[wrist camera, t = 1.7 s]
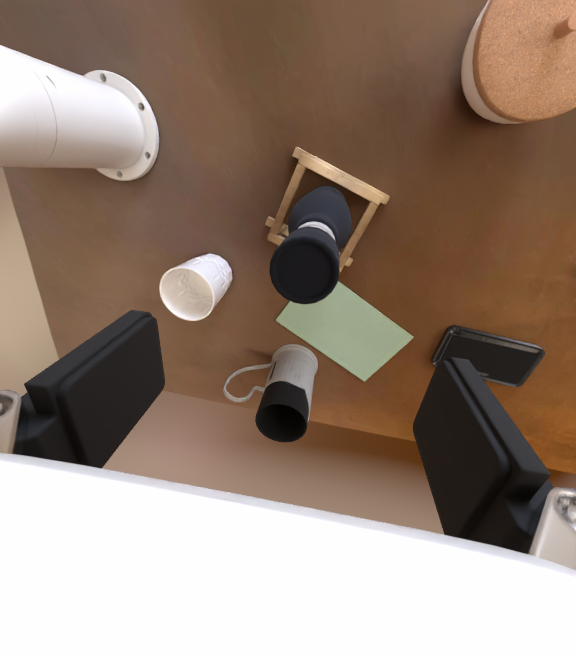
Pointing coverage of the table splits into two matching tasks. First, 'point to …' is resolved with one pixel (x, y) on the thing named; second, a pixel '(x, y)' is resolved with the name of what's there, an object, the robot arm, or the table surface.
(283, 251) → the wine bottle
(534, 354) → the phone
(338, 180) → the bottle stand
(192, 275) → the white cup
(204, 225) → the table surface
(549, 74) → the lidded bowl
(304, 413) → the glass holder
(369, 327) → the mat
